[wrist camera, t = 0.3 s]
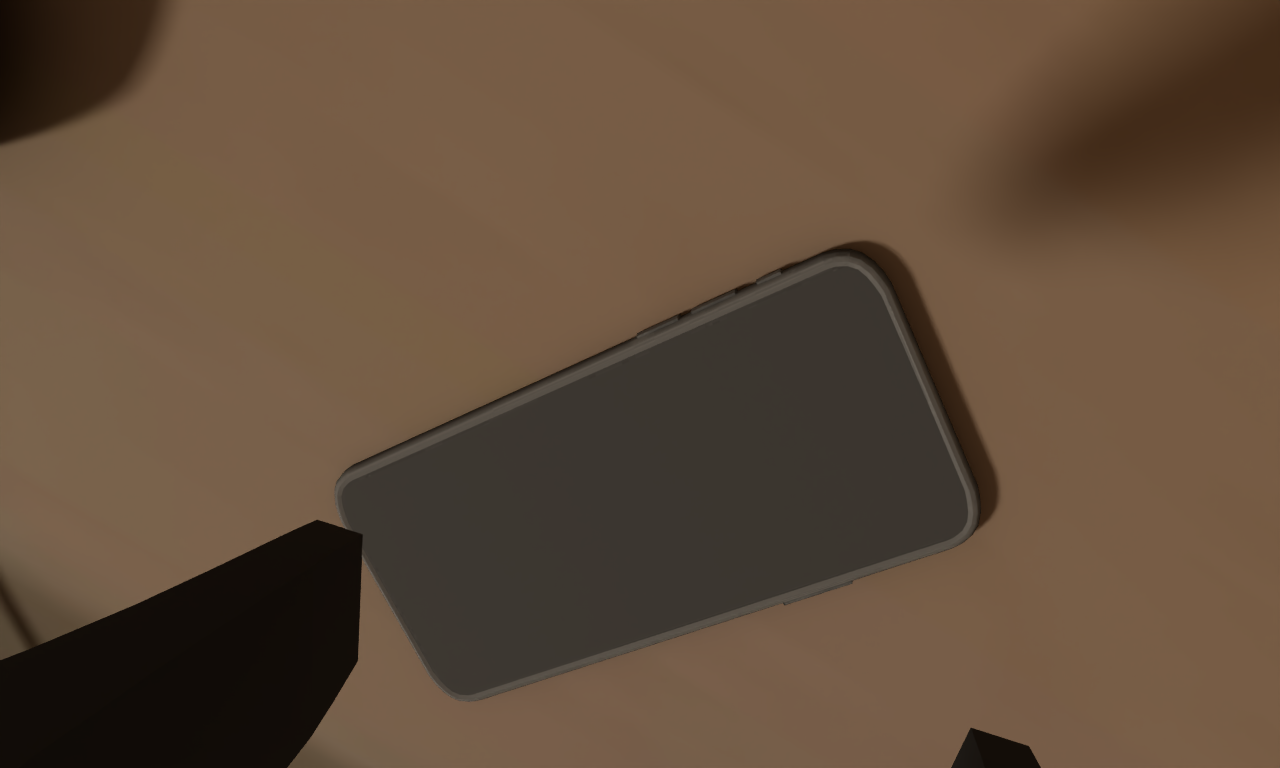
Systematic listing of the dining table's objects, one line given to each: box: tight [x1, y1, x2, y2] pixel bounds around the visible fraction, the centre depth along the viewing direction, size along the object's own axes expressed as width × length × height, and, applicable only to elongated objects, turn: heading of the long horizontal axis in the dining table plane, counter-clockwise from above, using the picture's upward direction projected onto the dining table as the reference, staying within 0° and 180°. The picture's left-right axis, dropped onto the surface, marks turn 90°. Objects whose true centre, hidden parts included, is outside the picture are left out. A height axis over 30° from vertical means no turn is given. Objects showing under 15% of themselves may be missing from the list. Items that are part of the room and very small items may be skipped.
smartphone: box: [335, 249, 981, 702], centre depth 21 cm, size 7×1×15 cm
